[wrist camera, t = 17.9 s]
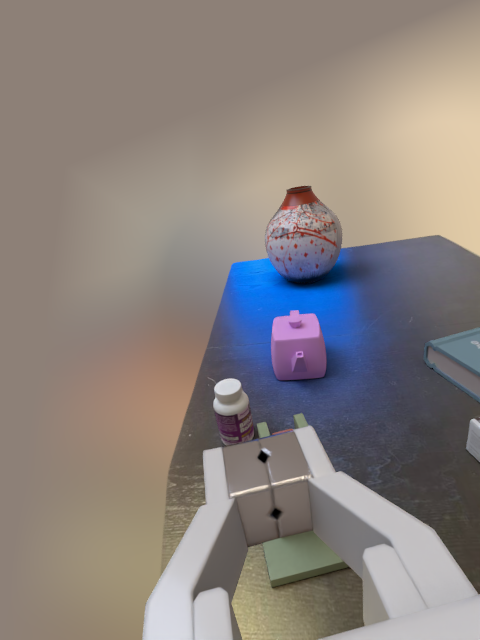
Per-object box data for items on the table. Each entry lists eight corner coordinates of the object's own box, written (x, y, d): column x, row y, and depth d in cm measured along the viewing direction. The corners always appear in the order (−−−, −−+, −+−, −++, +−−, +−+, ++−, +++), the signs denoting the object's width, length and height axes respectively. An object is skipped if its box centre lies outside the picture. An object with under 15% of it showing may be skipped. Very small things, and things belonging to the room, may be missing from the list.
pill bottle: (251, 450, 51) (241, 398, 47) (217, 448, 53) (204, 398, 49) (257, 424, 56) (248, 375, 52) (226, 423, 57) (215, 375, 53)
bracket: (357, 565, 35) (354, 469, 30) (271, 587, 35) (252, 495, 29) (316, 471, 46) (308, 388, 40) (250, 487, 46) (233, 405, 40)
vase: (282, 267, 127) (273, 186, 115) (348, 265, 117) (345, 177, 105) (260, 292, 108) (247, 198, 96) (337, 292, 99) (332, 188, 87)
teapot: (332, 391, 60) (329, 340, 56) (272, 395, 62) (265, 346, 58) (321, 340, 76) (318, 297, 72) (273, 344, 78) (268, 303, 74)
